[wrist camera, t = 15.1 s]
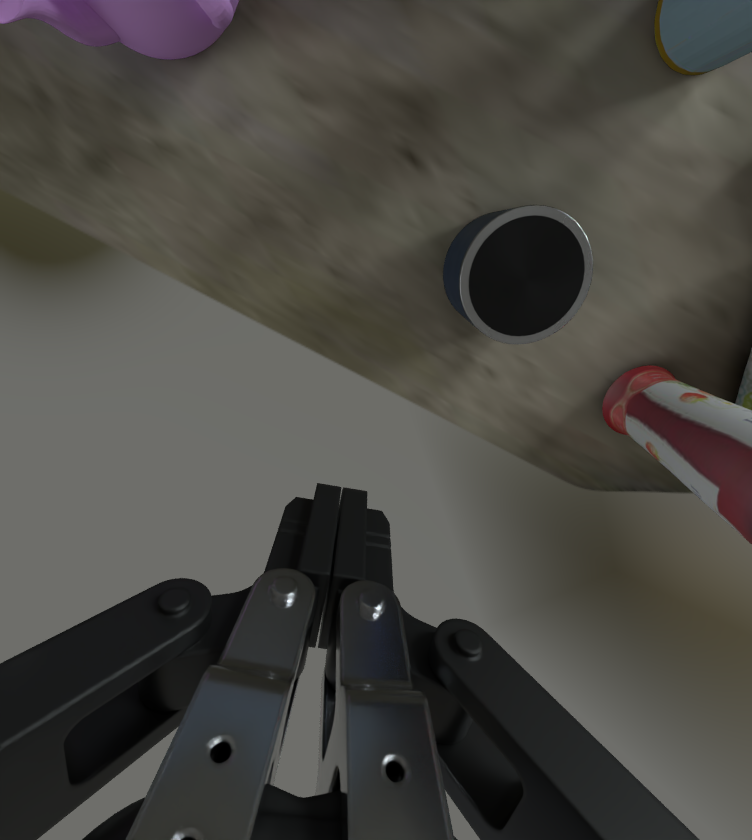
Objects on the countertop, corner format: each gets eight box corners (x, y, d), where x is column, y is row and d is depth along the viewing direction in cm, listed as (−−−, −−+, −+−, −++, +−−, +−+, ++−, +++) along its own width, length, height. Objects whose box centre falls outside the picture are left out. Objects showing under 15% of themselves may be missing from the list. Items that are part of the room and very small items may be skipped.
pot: (427, 239, 34) (441, 240, 27) (535, 191, 33) (578, 179, 26) (462, 340, 38) (482, 363, 31) (560, 300, 36) (605, 315, 29)
